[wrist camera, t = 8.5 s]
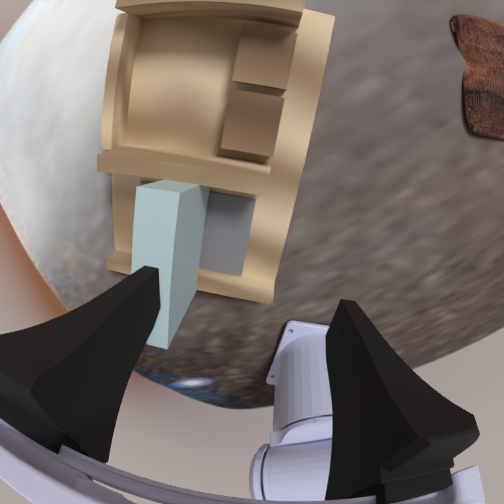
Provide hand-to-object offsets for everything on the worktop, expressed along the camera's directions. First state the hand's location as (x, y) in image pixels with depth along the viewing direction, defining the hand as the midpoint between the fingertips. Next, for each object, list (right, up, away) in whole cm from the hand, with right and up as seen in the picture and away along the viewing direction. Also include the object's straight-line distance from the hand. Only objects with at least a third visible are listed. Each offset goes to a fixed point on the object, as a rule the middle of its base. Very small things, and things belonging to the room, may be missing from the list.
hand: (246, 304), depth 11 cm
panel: (-4, +3, +8) cm, 10 cm away
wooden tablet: (+28, +17, 0) cm, 32 cm away
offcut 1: (+1, +13, +3) cm, 14 cm away
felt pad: (-4, +4, +10) cm, 11 cm away
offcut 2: (0, +10, +5) cm, 11 cm away
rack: (-3, +9, +7) cm, 12 cm away
